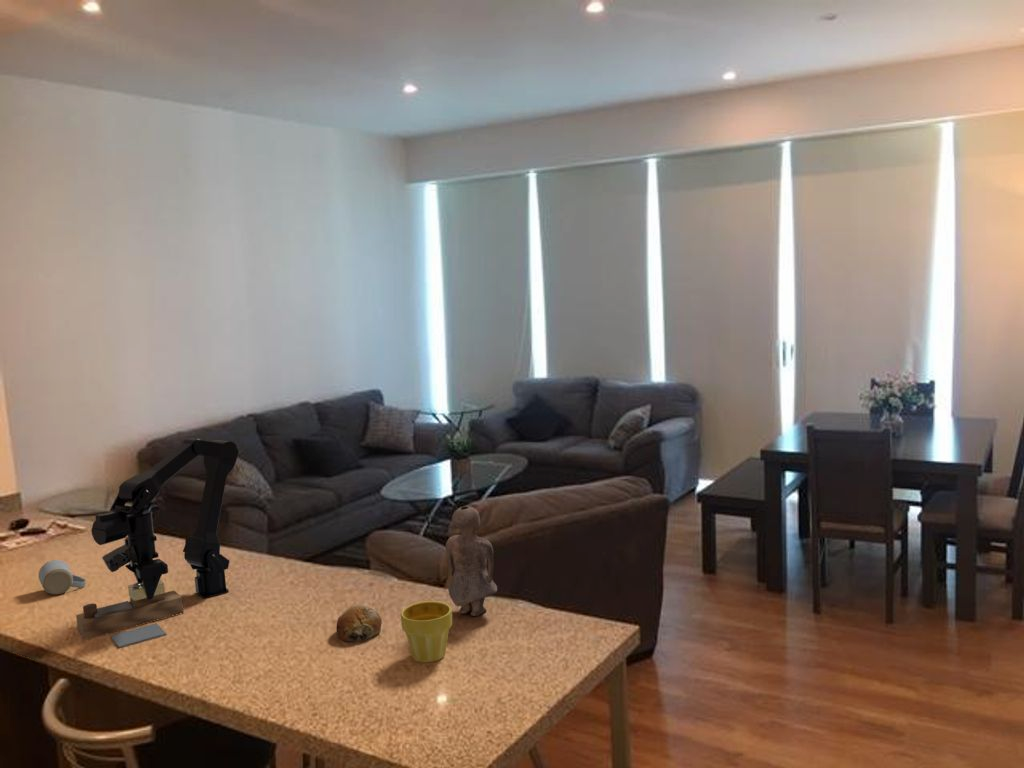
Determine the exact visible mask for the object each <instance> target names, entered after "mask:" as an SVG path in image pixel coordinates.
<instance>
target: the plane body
mask: <svg viewBox="0 0 1024 768" xmlns="http://www.w3.org/2000/svg"><path fill="white" fill-rule="evenodd" d="M82 609H83V610H82V613H78V614H76V615H75V617H76V624H77V625H76V626H77V632H78V633H80V634H79V635H80V637H81V638H82V639H83V640H89V639H93V638H97V637H100V636H103V635H102V634H104V635H107V634H106V633H108V634H111V633H114V631H115V632H118V631H117V630H119V631H122V629H123V630H125V628H126V629H129V627H130V628H133V627H132V626H134V627H137V626H136V625H138V626H141V625H144V624H143V623H145V624H148V623H147V622H149V623H151V622H150V621H152V622H155V621H154V620H156V621H158V620H157V619H160V620H163V619H162V618H164V619H166V618H165V617H167V618H169V617H168V616H171V617H173V616H172V615H175V616H177V615H176V614H179V615H181V614H180V613H182V614H184V606H183V597H182V596H181V595H180V594H179V593H178V592H177V591H175V590H170V591H165V593H164V594H160V595H156V596H153V598H152V599H149V600H148V599H147V598H144V599H140V600H136V601H134V600H133V599H132V598H131V597H130V596H129V601H128V600H126V601H122V602H119V603H114V604H109V605H106V606H102V607H98V606H97V603H88V604H86V605H85V604H84V605H83V606H82ZM140 624H141V625H140ZM110 632H111V633H110ZM99 635H100V636H99ZM96 636H97V637H96Z"/></svg>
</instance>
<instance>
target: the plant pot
mask: <svg viewBox="0 0 1024 768" xmlns="http://www.w3.org/2000/svg"><path fill="white" fill-rule="evenodd" d="M400 621H401V624H400V625H401V629H402V631H403V632H404V633H405V634H406V637H407V642H408V645H409V648H410V651H411V654H412V655H411V656H412V659H414V661H417V662H419V663H425V664H427V663H434V662H437V661H439V660H441V659H443V658H444V657H445V655H446V652H447V646H448V645H447V644H448V638H449V632H450V629H451V627H452V625H453V609H452V607H451V606H450V604H447V602H443V601H436V600H435V601H434V600H431V601H430V600H429V601H420V602H415V603H413V604H410V605H407V606H406V607H404V608H403V609H402V610H401V612H400Z"/></svg>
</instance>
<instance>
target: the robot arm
mask: <svg viewBox="0 0 1024 768" xmlns="http://www.w3.org/2000/svg"><path fill="white" fill-rule="evenodd" d="M239 452H240V450H239V447H237V445H236V443H235V441H234V442H233V441H231V440H230V441H229V440H219V439H212V440H210V441H206V440H203V439H200V438H193V437H188V438H186V439H184V440H183V442H182V443H181V444H180V445H179V446H177V447H176V448H175V449H174V450H172V451H171V452H170V453H169V454H167V455H166V456H165V457H164V458H162V459H161V460H159V461H158V462H157V463H156V464H155V465H153V466H152V467H151V468H150V469H147V470H146V471H144V472H141V473H139V474H136V475H134V476H132V477H129V478H128V479H126V480H125V481H123V482H122V483H120V485H119V487H118V493H117V496H116V497H115V499H114V501H113V503H112V505H111V506H110V509H109V511H110V512H105V513H99V514H96V515H95V521H93V523H92V527H91V528H90V530H91V531H90V532H91V535H92V539H93V541H94V542H95V543H96V544H97V545H99V546H103V545H106V544H110V543H112V542H116V541H119V540H122V539H124V544H123V545H121V546H119V547H117V548H115V549H113V550H111V551H110V552H108V553H106V554H104V555H103V556H102V557H101V558H102V560H103V562H104V564H105V566H106V568H107V569H108V570H109V571H110V572H111V573H114V572H116V571H118V570H120V569H121V568H122V567H123V566H125V568H126V569H128V570H129V571H131V572H132V573H133V574H134V577H135V579H136V581H137V582H136V583H141V582H142V583H143V586H144V590H145V593H146V596H147V599H148V600H149V599H152V598H153V596H154V593H155V591H156V588H157V585H158V583H159V580H161V578H162V575H166V574H168V573H169V567H168V564H167V563H166V562H165V561H163V560H162V559H160V558H159V552H157V551H156V541H157V539H158V538H157V535H155V533H154V522H153V513H154V512H157V511H160V510H161V507H160V506H158V505H156V504H155V503H154V502H153V501H154V499H155V498H156V497H157V496H158V495H159V494H160V491H161V489H162V486H163V485H164V484H165V483H166V482H168V481H169V480H170V479H172V477H174V476H175V475H176V474H177V473H179V472H180V471H181V470H182V469H183V468H185V467H186V466H187V465H189V464H190V463H191V462H192V461H193V460H194V459H195V458H197V457H198V456H200V457H203V466H204V467H205V468H204V469H205V471H206V477H205V483H204V488H203V492H202V499H201V504H200V508H199V514H198V519H197V520H198V521H197V524H196V529H195V531H194V532H193V534H191V535H187V536H185V542H184V543H185V544H184V547H183V550H182V552H183V553H184V557H183V558H184V559H185V561H186V562H187V563H188V564H189V565H190V568H191V569H192V570H196V571H195V574H196V576H195V577H194V586H195V592H196V593H197V595H199V596H200V597H201V598H203V599H208V598H211V597H214V596H218V595H222V594H226V593H229V591H230V590H229V589H228V588H227V582H226V574H225V572H226V570H228V569H229V566H230V559H228V558H227V557H225V556H224V555H222V554H221V543H220V539H219V537H218V525H219V520H220V516H221V510H222V505H223V499H224V493H225V488H226V483H227V478H228V475H229V474H231V471H232V470H233V469H234V468H235V466H236V463H237V460H238V457H239ZM129 505H131V506H129Z"/></svg>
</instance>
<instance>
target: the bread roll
mask: <svg viewBox="0 0 1024 768" xmlns="http://www.w3.org/2000/svg"><path fill="white" fill-rule="evenodd" d="M382 620H383V619H382V617H381V616H380V614H379V612H378V611H376V609H374V608H372V607H371V606H368V605H364V604H356V605H354V604H353V605H350V606H349V607H347V609H346V610H344V612H342V613H341V614H340V615H339V616H338V618H337V620H336V636H337V637H338V638H339V639H340V640H341V641H344V642H353V643H354V642H355V643H356V642H363V641H366V640H369V639H372V638H374V637H375V636H377V635H378V634H380V633H381V628H382V622H383V621H382Z"/></svg>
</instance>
